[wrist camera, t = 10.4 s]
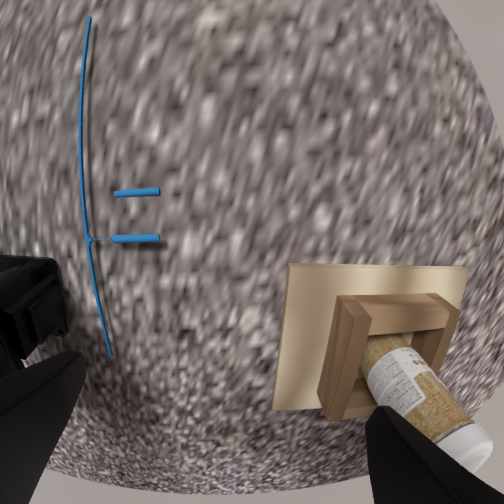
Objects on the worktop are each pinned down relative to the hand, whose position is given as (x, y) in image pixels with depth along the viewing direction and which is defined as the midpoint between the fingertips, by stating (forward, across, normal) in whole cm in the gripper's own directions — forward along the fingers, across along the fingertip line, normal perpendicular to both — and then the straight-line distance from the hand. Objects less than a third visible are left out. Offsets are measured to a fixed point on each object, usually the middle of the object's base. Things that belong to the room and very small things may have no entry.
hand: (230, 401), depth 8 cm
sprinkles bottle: (+13, -12, +5) cm, 18 cm away
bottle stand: (+14, -12, +5) cm, 19 cm away
